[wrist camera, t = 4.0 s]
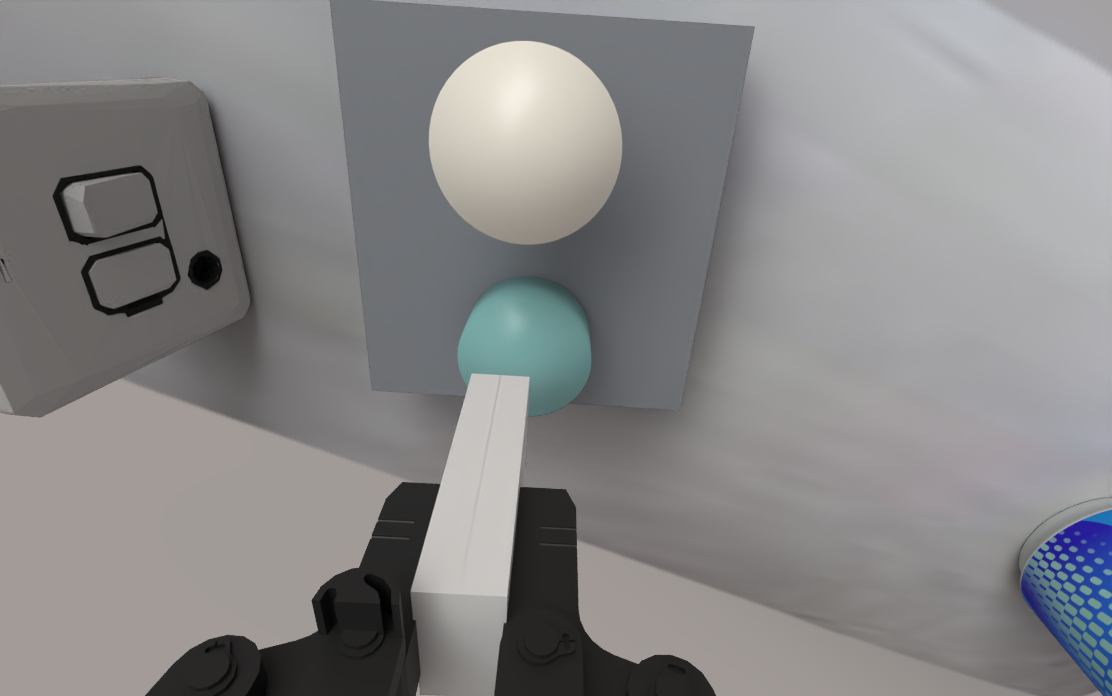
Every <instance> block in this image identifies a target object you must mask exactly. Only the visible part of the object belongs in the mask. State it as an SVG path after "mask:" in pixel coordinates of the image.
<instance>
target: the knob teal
mask: <svg viewBox="0 0 1112 696" xmlns="http://www.w3.org/2000/svg"><path fill="white" fill-rule="evenodd" d="M457 357H458V366H459V370H460V373H461V375H462V378H463V380H464V382H465V383H466V385H467V387H468V385H469V381H470V378H471V374H472V373H473V374H490V375H508V376H525V377H530V383H529V406H528V417H531V416H540V415H544V414H548V413H551V412H554V411H556V410H558V409H561V408H562V407H564V406H566V405H567V404H569V403H570V402H571V401H572V400H573V399H575V397H576V396H577V395H578V394H579V393H580V392H581V390H582V389H583V387H584V386H585V384H586V382H587V380H588V377H589V374H590V369H591V344H590V329H589V322H588V319H587V316H586V313H585V311H584V309H583V307H582V306H581V304H580V303H579V301H578V300H577V299H576V298H575V297H574V296H573V295H572V294H571V293H570V292H569V291H568V290H566V289H565V288H564V287H562V286H560V285H559V284H557V283H555V282H552V281H550V280H547V279H543V278H539V277H528V276H522V277H514V278H510V279H506V280H504V281H501V282H499V283H497V284H495V285H493V286H492V287H490V288H489V289H488V290H486V291H485V292H484V293H483V294H482V295H481V296H480V297H479V299H478V300H477V301H476V303H475V304H474V306H473V308H472V310H471V313H470V315H469V318H468V320H467V323H466V325H465V328H464V330H463V333H462V335H461V338H460V341H459V345H458V355H457Z"/></svg>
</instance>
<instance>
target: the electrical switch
mask: <svg viewBox="0 0 1112 696" xmlns="http://www.w3.org/2000/svg"><path fill="white" fill-rule="evenodd" d="M249 306H250V294H249V289H248V285H247V280H246V276H245V271H244V267H243V262H242V258H241V253H240V248H239V244H238V239H237V235H236V230H235V226H234V221H233V216H232V212H231V207H230V203H229V198H228V194H227V189H226V185H225V180H224V175H223V171H222V166H221V162H220V157H219V153H218V148H217V144H216V139H215V134H214V130H213V125H212V121H211V116H210V112H209V107H208V103H207V99H206V97H205V95H204V93H203V92H202V91H201V90H200V89H199V88H197V87H196V86H195V85H194V84H193V83H191V82H190V81H185V80H178V79H172V78H162V77H155V78H140V79H126V80H103V81H80V82H58V83H36V84H14V85H0V412H1V413H4V414H10V415H20V416H30V417H42V416H44V415H46V414H48V413H51V412H53V411H55V410H57V409H59V408H61V407H63V406H65V405H67V404H69V403H71V402H73V401H75V400H77V399H79V398H81V397H83V396H85V395H87V394H89V393H91V392H93V391H95V390H97V389H99V388H102V387H104V386H105V385H107V384H110V383H112V382H114V381H116V380H118V379H120V378H122V377H124V376H126V375H128V374H130V373H132V372H134V371H136V370H138V369H140V368H142V367H144V366H146V365H148V364H150V363H152V362H154V361H157V360H159V359H161V358H163V357H165V356H167V355H169V354H171V353H173V352H175V351H177V350H179V349H181V348H183V347H185V346H187V345H189V344H191V343H193V342H195V341H197V340H199V339H201V338H203V337H205V336H207V335H209V334H212V333H214V332H216V331H218V330H220V329H222V328H224V327H226V326H228V325H230V324H232V323H234V322H236V321H238V320H240V319H242V318H244V316H245V314H246V312H247V310H248V309H249Z"/></svg>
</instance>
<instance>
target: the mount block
mask: <svg viewBox="0 0 1112 696" xmlns="http://www.w3.org/2000/svg"><path fill="white" fill-rule="evenodd" d="M330 8H331V17H332V26H333V35H334V45H335V54H336V63H337V72H338V82H339V91H340V100H341V109H342V119H343V128H344V137H345V146H346V156H347V165H348V174H349V183H350V193H351V202H352V211H353V220H354V230H355V239H356V248H357V257H358V267H359V276H360V285H361V295H362V304H363V313H364V322H365V332H366V341H367V350H368V359H369V369H370V378H371V387H372V390H373V391H389V392H404V393H419V394H434V395H450V396H465V395H466V392H467V388H468V387H467V385H466V383H465V382H464V380H463V378H462V375H461V373H460V370H459V366H458V357H457V355H458V345H459V341H460V338H461V335H462V333H463V330H464V328H465V325H466V323H467V320H468V318H469V315H470V313H471V310H472V308H473V306H474V304H475V303H476V301H477V300H478V299H479V297H480V296H481V295H482V294H483V293H484V292H485V291H486V290H488V289H489V288H490V287H492V286H493V285H495V284H497V283H499V282H501V281H504V280H506V279H510V278H514V277H522V276H528V277H539V278H543V279H547V280H550V281H552V282H555V283H557V284H559V285H560V286H562V287H564V288H565V289H566V290H568V291H569V292H570V293H571V294H572V295H573V296H574V297H575V298H576V299H577V300H578V301H579V303H580V304H581V306H582V307H583V309H584V311H585V313H586V316H587V319H588V322H589V329H590V344H591V369H590V374H589V377H588V380H587V382H586V384H585V386H584V387H583V389H582V390H581V392H580V393H579V394H578V395H577V396H576V397H575V399H573V400H572V401H571V402H570V403H572V404H587V405H603V406H618V407H633V408H648V409H664V410H679V411H680V409H681V404H682V399H683V393H684V388H685V383H686V378H687V373H688V368H689V363H690V357H691V352H692V347H693V342H694V337H695V332H696V327H697V321H698V316H699V311H700V306H701V301H702V296H703V291H704V285H705V280H706V275H707V270H708V265H709V260H710V255H711V249H712V244H713V239H714V234H715V229H716V224H717V219H718V213H719V208H720V203H721V198H722V193H723V188H724V183H725V177H726V172H727V167H728V162H729V157H730V152H731V147H732V141H733V136H734V131H735V126H736V121H737V116H738V111H739V105H740V100H741V95H742V90H743V85H744V80H745V75H746V69H747V64H748V59H749V54H750V49H751V44H752V39H753V33H754V28H755V27H753V26H739V25H724V24H709V23H694V22H680V21H665V20H650V19H635V18H621V17H606V16H591V15H576V14H562V13H547V12H532V11H518V10H503V9H488V8H473V7H459V6H444V5H429V4H414V3H400V2H385V1H370V0H330ZM512 41H533V42H540V43H545V44H548V45H552V46H555V47H558V48H560V49H562V50H564V51H566V52H569V53H570V54H572V55H573V56H575V57H576V58H578V59H579V60H581V61H582V62H583V63H584V64H585V65H586V66H588V67H589V68H590V69H591V70H592V71H593V72H594V74H595V75H596V76H597V77H598V78H599V79H600V81H601V82H602V83H603V85H604V86H605V88H606V89H607V91H608V93H609V95H610V97H611V99H612V101H613V103H614V105H615V108H616V111H617V114H618V117H619V122H620V127H621V133H622V159H621V164H620V170H619V173H618V177H617V180H616V183H615V185H614V188H613V190H612V192H611V194H610V196H609V197H608V199H607V201H606V202H605V204H604V205H603V207H602V208H601V209H600V210H599V212H598V213H597V214H596V215H595V216H594V217H593V218H592V219H591V220H590V221H589V222H588V223H587V224H585V225H584V226H583V227H581V228H580V229H579V230H577V231H575V232H574V233H572V234H570V235H568V236H566V237H563V238H561V239H558V240H555V241H552V242H548V243H542V244H534V245H526V244H515V243H509V242H505V241H501V240H498V239H495V238H493V237H490V236H488V235H486V234H484V233H482V232H481V231H479V230H477V229H476V228H474V227H473V226H472V225H470V224H469V223H467V222H466V221H465V220H464V219H463V218H462V217H461V216H460V215H459V214H458V213H457V212H456V211H455V210H454V208H453V207H452V206H451V205H450V203H449V202H448V200H447V199H446V197H445V196H444V194H443V192H442V191H441V189H440V187H439V185H438V183H437V180H436V177H435V174H434V171H433V168H432V163H431V159H430V151H429V128H430V121H431V116H432V112H433V109H434V105H435V103H436V100H437V98H438V96H439V93H440V91H441V90H442V88H443V86H444V85H445V83H446V81H447V80H448V79H449V77H450V76H451V75H452V74H453V73H454V71H455V70H456V69H457V68H458V67H459V66H460V65H462V64H463V63H464V62H465V61H466V60H467V59H469V58H470V57H472V56H473V55H475V54H476V53H478V52H480V51H482V50H484V49H486V48H488V47H491V46H494V45H497V44H500V43H506V42H512Z"/></svg>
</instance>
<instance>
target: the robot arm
mask: <svg viewBox="0 0 1112 696" xmlns="http://www.w3.org/2000/svg"><path fill="white" fill-rule="evenodd" d="M529 383H530V377H525V376H508V375H490V374H473V373H472V374H471V378H470V381H469V385H468V388H467V392H466V395H465V399H464V403H463V406H462V410H461V413H460V417H459V420H458V424H457V428H456V431H455V435H454V438H453V442H452V445H451V449H450V453H449V456H448V460H447V463H446V467H445V470H444V474H443V478H442V481H441V484H428V483H409V482H402V483H401V484H400V485H399V486H398V487H397V488H396V489H395V490H394V491H393V492H392V493H391V494H390V495H389V496H388V497H387V498H386V501H385V503H384V505H383V508H382V510H381V513H380V516H379V518H378V522H377V523H376V526H375V528H374V531H373V533H372V539H370V541H369V544H368V546H367V549H366V551H365V554H364V557H363V559H362V562H361V564H360V567H359V568H353V569H350V570H347V571H345V572H342V573H340V574H338V575H335V576H334V577H333V578H331V579H330V580H329V581H327V582H326V583H325V584H324V585H322V586H321V587H320V589H319V590H318V592H317V593H316V595H315V596H314V598H313V599H312V604H313V609H314V614H315V618H316V622H317V627H318V631H317V632H315V633H313V634H312V635H310V636H307V637H305V638H302V639H299V640H296V641H292V642H288V643H285V644H281V645H276V646H273V647H269V648H264V649H261V650H258V649H257V646H256V644H255V643H254V642H252V641H250V640H249V639H247V638H245V637H244V636H234V635H226V636H221V637H217V638H213V639H209V640H207V641H205V642H203V643H201V644H199V645H198V646H196V647H194V648H192V649H190V650H189V651H188V652H186V653H185V654H184V655H183V656H182V657H181V658H180V659H179V660H177V661H176V662H175V663H174V664H173V665H172V666H171V667H170V668H169V669H168V671H167V672H166V673H165V674H164V675H163V676H162V677H161V678H160V680H159V681H158V682H157V683H156V684H155V685H154V686H153V687H152V688H151V690H150V691H149V692H148V693H147V694H146V695H145V696H416V692H417V687H418V683H419V687H420V695H437V696H716V695H715V693H714V690H713V688H712V687H711V685H710V684H709V682H708V681H707V679H706V678H705V676H704V675H703V674H702V672H701V671H699V670H698V669H697V668H696V667H694V666H693V665H692V664H691V663H689V662H688V661H686V660H683V659H681V658H678V657H675V656H673V655H654V656H652V657H649V658H647V659H645V660H642V661H641V662H640V663H639V664H636V663H633V662H631V661H628V660H626V659H623V658H620V657H618V656H615V655H613V654H611V653H609V652H607V651H605V650H603V649H602V648H600V647H599V646H598V645H597V644H596V643H594V642H593V641H592V640H591V638H590V637H589V636H588V634H587V633H586V632H585V630H584V628H583V626H582V624H581V621H580V617H579V610H578V573H577V532H576V507H575V505H574V503H573V501H572V500H571V498H570V496H569V494H568V492H567V491H566V489H547V488H529V487H524V478H525V467H526V451H527V429H528V406H529Z"/></svg>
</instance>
